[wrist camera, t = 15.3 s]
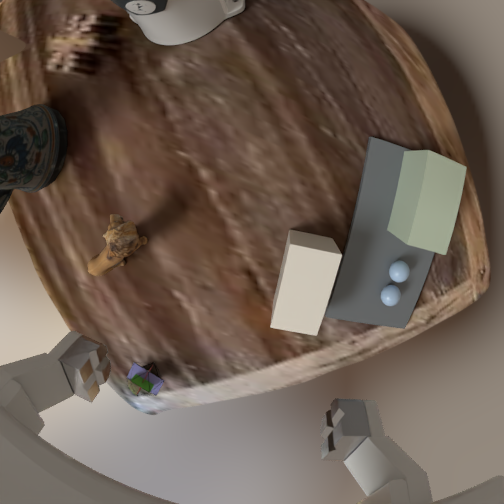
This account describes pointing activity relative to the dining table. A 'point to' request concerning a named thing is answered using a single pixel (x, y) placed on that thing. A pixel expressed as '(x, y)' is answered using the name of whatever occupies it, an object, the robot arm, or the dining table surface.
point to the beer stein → (30, 149)
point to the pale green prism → (427, 200)
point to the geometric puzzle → (143, 380)
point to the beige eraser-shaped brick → (305, 282)
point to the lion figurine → (116, 246)
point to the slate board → (377, 248)
